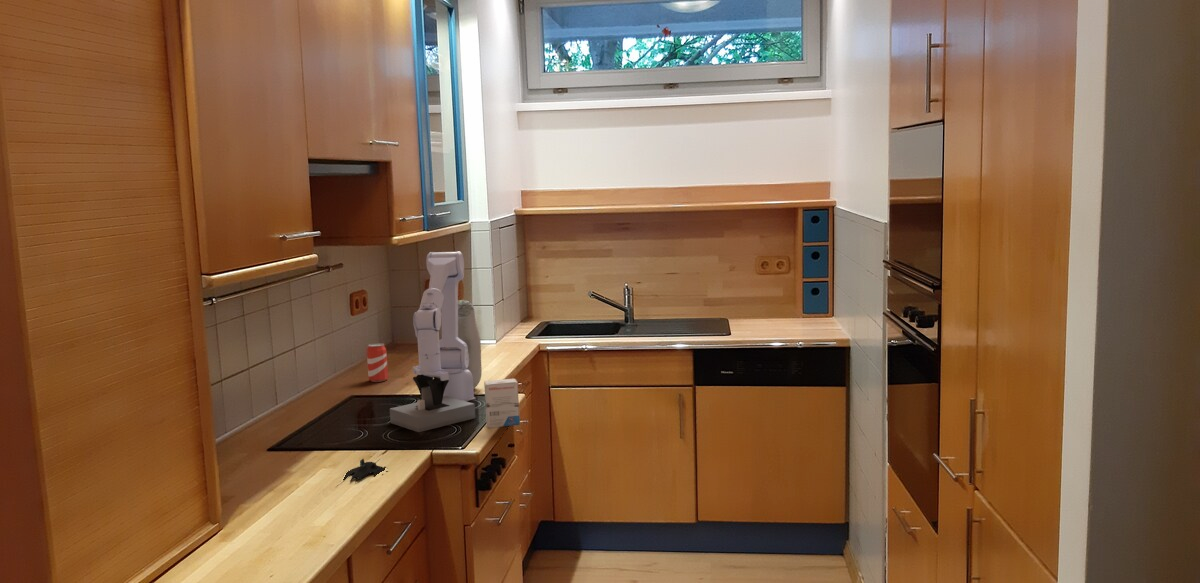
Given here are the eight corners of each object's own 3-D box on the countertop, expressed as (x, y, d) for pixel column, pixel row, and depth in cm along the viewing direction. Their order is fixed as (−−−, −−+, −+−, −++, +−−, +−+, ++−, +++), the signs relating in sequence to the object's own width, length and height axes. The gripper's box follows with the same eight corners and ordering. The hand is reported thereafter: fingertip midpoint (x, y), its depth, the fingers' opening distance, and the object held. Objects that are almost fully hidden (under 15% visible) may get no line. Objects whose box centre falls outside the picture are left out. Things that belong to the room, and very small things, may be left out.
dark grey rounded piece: (435, 405, 252) (434, 384, 251) (444, 408, 248) (443, 387, 247) (414, 410, 248) (412, 388, 247) (423, 413, 244) (422, 391, 243)
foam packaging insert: (446, 409, 260) (445, 395, 260) (475, 418, 250) (474, 403, 249) (390, 422, 248) (389, 408, 247) (418, 432, 238) (417, 417, 237)
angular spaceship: (397, 468, 210) (397, 456, 210) (373, 492, 196) (372, 479, 195) (351, 467, 212) (350, 455, 212) (323, 491, 197) (322, 478, 197)
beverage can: (365, 380, 302) (363, 344, 300) (383, 377, 305) (381, 342, 304) (373, 383, 297) (370, 347, 295) (391, 380, 301) (389, 344, 299)
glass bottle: (443, 389, 285) (438, 300, 281) (472, 384, 291) (467, 297, 287) (459, 395, 277) (454, 303, 273) (488, 389, 283) (484, 299, 280)
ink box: (518, 420, 246) (516, 377, 244) (520, 425, 241) (518, 381, 240) (485, 423, 244) (483, 380, 243) (487, 428, 239) (485, 384, 238)
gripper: (402, 352, 249) (405, 401, 251) (431, 359, 239) (434, 410, 240) (424, 348, 254) (427, 396, 256) (454, 355, 243) (456, 404, 245)
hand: (432, 402), depth 248 cm, fingers closed on dark grey rounded piece, 5 cm apart
